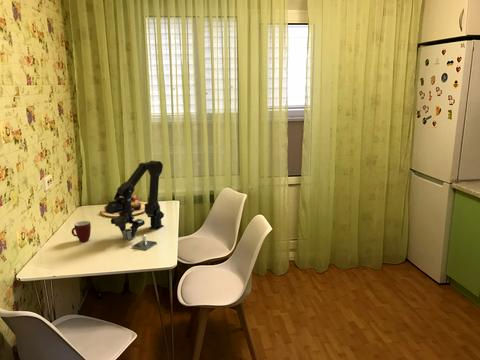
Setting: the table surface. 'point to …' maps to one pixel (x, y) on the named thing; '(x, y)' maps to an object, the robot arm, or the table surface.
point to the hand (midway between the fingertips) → (128, 236)
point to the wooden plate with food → (136, 206)
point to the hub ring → (127, 234)
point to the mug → (82, 230)
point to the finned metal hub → (144, 244)
